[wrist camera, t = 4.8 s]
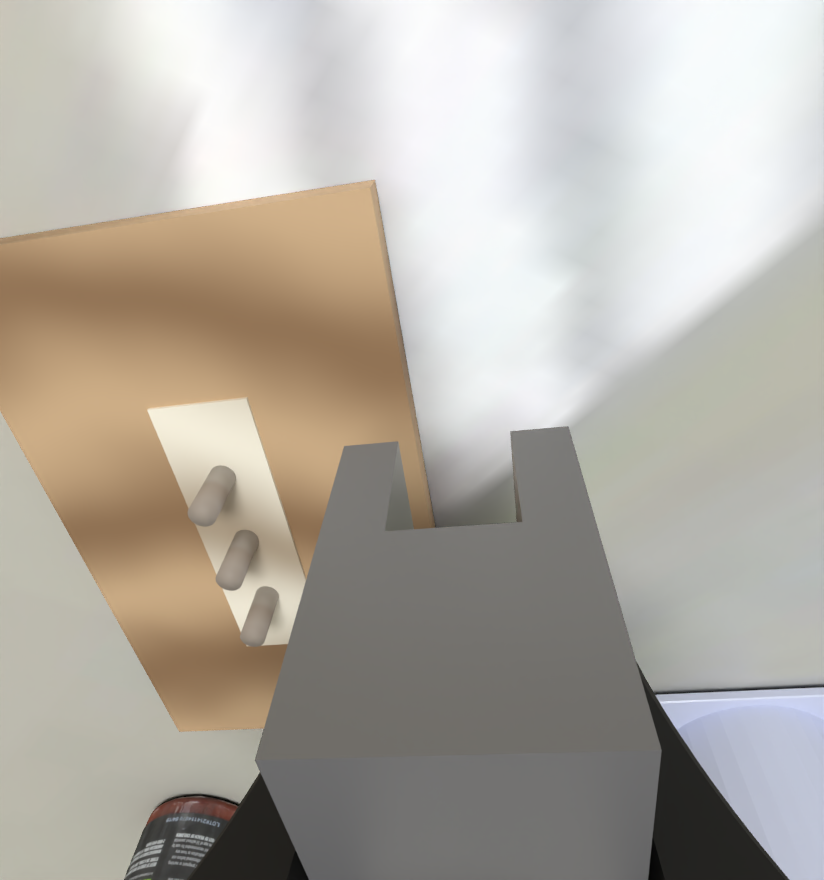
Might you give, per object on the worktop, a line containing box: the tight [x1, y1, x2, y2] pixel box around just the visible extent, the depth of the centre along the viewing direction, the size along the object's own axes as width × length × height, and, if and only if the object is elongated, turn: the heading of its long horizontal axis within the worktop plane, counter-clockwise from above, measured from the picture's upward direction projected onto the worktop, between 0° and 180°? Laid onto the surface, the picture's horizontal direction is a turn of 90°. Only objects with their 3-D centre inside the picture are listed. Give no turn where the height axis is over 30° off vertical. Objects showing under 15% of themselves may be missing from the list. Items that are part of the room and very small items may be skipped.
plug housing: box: [255, 426, 662, 880], centre depth 11 cm, size 8×4×6 cm, turn 8°
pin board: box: [0, 180, 435, 732], centre depth 20 cm, size 20×12×3 cm, turn 9°
